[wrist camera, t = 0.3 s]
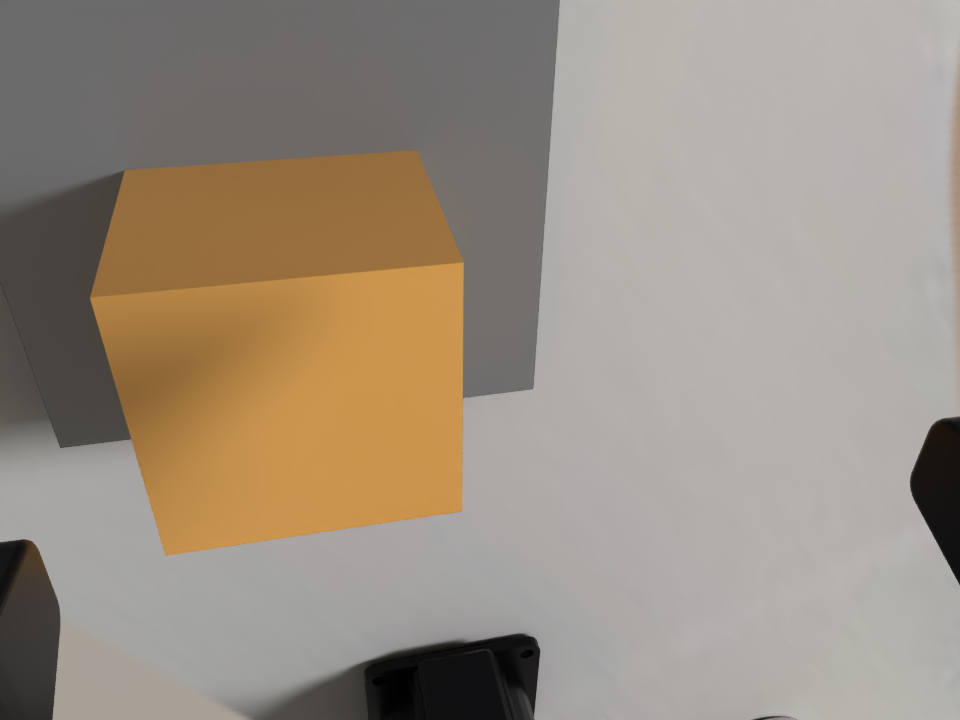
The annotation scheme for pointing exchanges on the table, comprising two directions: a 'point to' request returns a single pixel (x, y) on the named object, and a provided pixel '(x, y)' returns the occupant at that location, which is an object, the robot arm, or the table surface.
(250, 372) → the cardboard cube
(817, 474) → the table surface
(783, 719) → the supplement bottle
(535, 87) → the plate
